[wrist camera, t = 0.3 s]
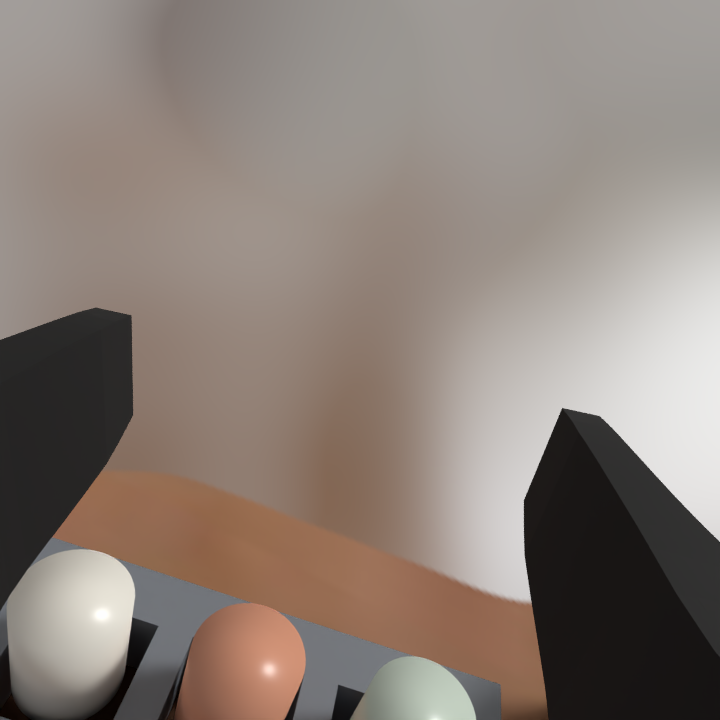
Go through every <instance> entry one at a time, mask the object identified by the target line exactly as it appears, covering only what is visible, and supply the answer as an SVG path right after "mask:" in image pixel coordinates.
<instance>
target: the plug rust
mask: <svg viewBox="0 0 720 720" xmlns="http://www.w3.org/2000/svg"><path fill="white" fill-rule="evenodd" d="M305 665H306V657H305V649H304V645H303V642H302V639H301V637H300V635H299V633H298V631H297V630H296V628H295V627H294V626H293V624H292V623H291V622H290V621H289V620H288V619H287V618H286V617H285V616H283V615H282V614H280V613H279V612H277V611H275V610H274V609H272V608H269V607H267V606H263V605H260V604H253V603H241V604H234V605H230V606H227V607H224V608H222V609H220V610H218V611H216V612H215V613H213V614H212V615H211V616H209V617H208V618H207V619H206V620H205V621H204V622H203V623H202V624H201V626H200V627H199V629H198V630H197V632H196V634H195V636H194V638H193V641H192V644H191V647H190V651H189V655H188V660H187V664H186V668H185V672H184V676H183V681H182V685H181V689H180V693H179V697H178V701H177V706H176V710H175V714H174V719H173V720H285V717H286V715H287V713H288V711H289V708H290V706H291V704H292V702H293V699H294V697H295V695H296V693H297V691H298V688H299V686H300V684H301V682H302V679H303V676H304V672H305Z"/></svg>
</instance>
